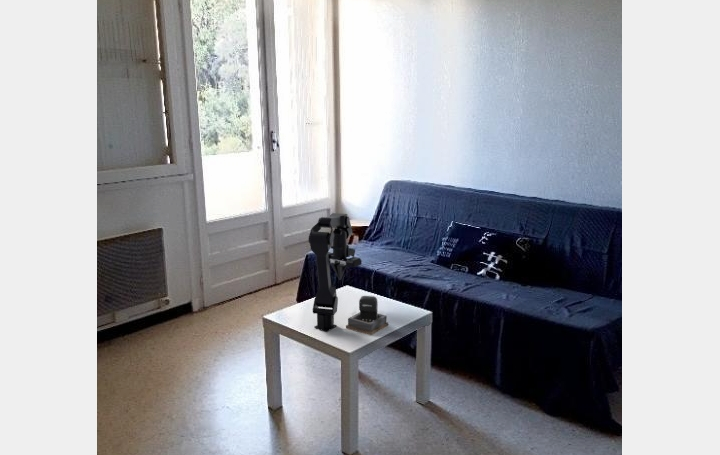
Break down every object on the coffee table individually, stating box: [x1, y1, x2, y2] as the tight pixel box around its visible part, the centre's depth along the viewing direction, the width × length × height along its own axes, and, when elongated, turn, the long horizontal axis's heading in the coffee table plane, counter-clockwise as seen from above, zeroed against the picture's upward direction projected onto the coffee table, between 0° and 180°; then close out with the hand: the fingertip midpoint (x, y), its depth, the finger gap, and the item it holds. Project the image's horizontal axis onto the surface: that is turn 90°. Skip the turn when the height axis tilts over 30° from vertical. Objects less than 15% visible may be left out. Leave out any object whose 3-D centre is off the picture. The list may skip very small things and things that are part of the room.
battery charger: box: [358, 294, 379, 323], centre depth 225 cm, size 7×4×11 cm, turn 76°
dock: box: [345, 311, 390, 336], centre depth 227 cm, size 12×12×4 cm
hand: (340, 279), depth 244 cm, fingers closed
